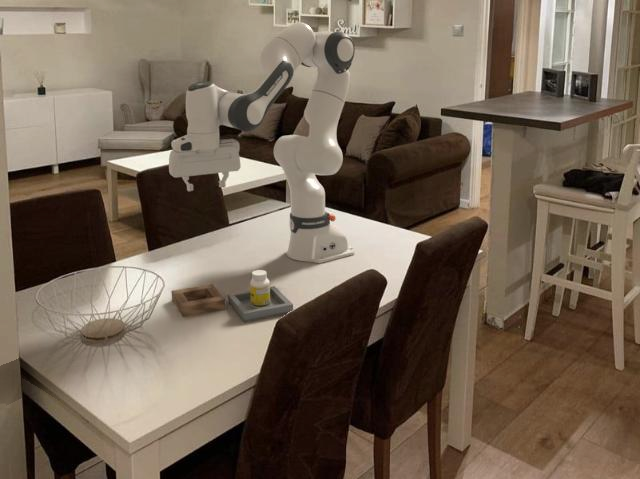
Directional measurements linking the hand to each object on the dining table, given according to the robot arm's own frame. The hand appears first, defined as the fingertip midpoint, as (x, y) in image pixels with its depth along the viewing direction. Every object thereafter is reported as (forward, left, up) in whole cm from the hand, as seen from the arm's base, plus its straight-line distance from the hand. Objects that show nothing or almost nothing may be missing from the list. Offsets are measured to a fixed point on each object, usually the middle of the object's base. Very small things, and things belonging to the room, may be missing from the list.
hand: (206, 188), depth 209 cm
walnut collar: (+8, +14, -29) cm, 33 cm away
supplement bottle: (-7, +23, -29) cm, 37 cm away
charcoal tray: (-7, +23, -29) cm, 38 cm away
